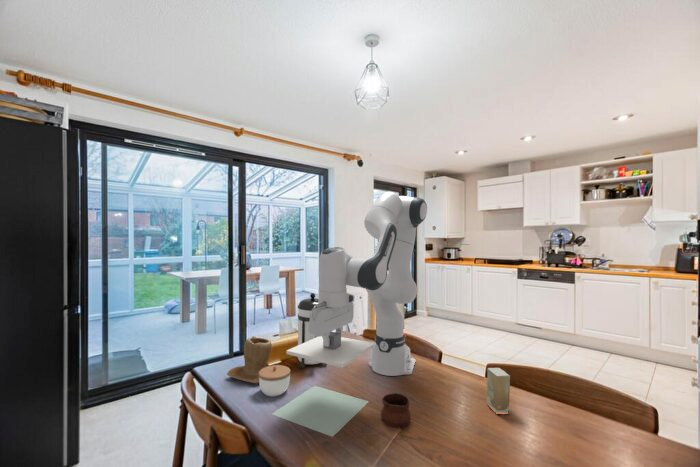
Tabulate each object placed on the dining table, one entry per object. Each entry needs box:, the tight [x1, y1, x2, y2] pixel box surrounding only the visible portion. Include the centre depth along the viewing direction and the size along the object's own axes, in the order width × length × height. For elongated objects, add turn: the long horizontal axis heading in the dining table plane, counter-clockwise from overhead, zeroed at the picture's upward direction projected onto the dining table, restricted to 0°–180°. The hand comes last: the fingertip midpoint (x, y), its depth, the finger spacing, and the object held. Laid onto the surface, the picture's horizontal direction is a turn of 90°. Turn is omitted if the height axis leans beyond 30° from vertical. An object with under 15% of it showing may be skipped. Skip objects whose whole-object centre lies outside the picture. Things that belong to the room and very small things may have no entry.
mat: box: [271, 385, 370, 438], centre depth 102 cm, size 22×22×1 cm
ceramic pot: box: [380, 392, 412, 441], centre depth 96 cm, size 18×18×7 cm
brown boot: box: [226, 336, 272, 384], centre depth 124 cm, size 15×12×15 cm
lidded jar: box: [258, 364, 291, 398], centre depth 112 cm, size 11×11×9 cm
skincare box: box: [486, 367, 511, 412], centre depth 102 cm, size 6×4×12 cm
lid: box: [285, 331, 376, 368], centre depth 102 cm, size 20×20×5 cm
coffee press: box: [297, 293, 328, 369], centre depth 138 cm, size 17×16×30 cm
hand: (332, 343), depth 102 cm, fingers closed on lid, 4 cm apart
